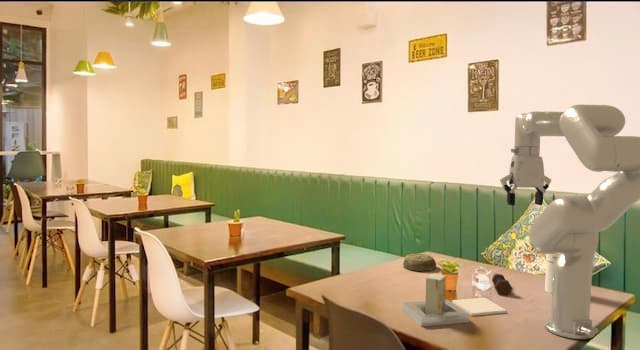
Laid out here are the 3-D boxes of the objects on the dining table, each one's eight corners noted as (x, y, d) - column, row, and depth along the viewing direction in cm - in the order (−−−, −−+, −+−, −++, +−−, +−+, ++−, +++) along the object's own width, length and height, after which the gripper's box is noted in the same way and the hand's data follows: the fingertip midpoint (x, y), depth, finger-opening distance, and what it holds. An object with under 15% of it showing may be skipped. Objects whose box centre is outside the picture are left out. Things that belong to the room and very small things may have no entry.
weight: (417, 274, 191) (417, 261, 191) (396, 266, 203) (396, 254, 202) (443, 269, 198) (443, 257, 197) (421, 262, 209) (421, 250, 209)
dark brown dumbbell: (498, 287, 180) (505, 299, 166) (486, 280, 181) (492, 291, 166) (507, 274, 179) (515, 285, 165) (495, 267, 180) (501, 277, 166)
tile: (506, 312, 149) (506, 310, 149) (471, 315, 146) (471, 313, 146) (484, 299, 160) (484, 297, 160) (451, 302, 158) (451, 300, 158)
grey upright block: (438, 321, 142) (439, 280, 141) (424, 318, 144) (425, 278, 143) (445, 314, 147) (446, 275, 146) (431, 311, 149) (432, 272, 148)
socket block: (468, 322, 141) (469, 313, 141) (421, 326, 137) (421, 318, 137) (447, 307, 153) (447, 299, 153) (403, 310, 150) (403, 302, 150)
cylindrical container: (565, 295, 165) (568, 223, 163) (542, 291, 170) (545, 221, 168) (569, 290, 171) (572, 220, 169) (547, 286, 175) (550, 218, 173)
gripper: (508, 152, 150) (506, 206, 152) (558, 152, 153) (556, 206, 154) (495, 151, 158) (494, 203, 159) (544, 151, 161) (542, 203, 162)
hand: (524, 204), depth 157 cm, fingers open, 9 cm apart
